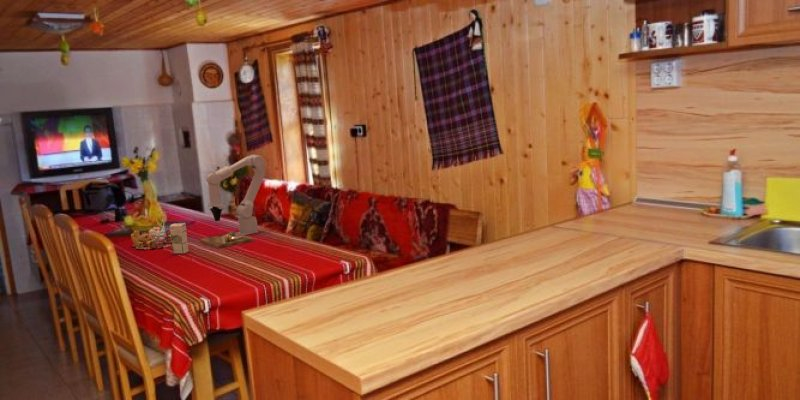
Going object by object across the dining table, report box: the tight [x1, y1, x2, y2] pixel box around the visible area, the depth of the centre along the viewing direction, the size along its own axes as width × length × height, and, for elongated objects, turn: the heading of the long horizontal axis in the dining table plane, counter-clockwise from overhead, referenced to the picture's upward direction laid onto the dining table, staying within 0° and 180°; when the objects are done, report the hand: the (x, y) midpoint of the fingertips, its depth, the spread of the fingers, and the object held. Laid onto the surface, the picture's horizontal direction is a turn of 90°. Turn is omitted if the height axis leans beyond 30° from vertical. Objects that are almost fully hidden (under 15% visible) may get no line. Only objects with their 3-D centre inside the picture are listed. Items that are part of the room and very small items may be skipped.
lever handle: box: [221, 231, 243, 244], centre depth 323 cm, size 18×11×3 cm, turn 176°
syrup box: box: [169, 222, 189, 255], centre depth 307 cm, size 6×6×14 cm
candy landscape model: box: [130, 226, 172, 250], centre depth 328 cm, size 25×24×9 cm
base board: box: [199, 231, 255, 249], centre depth 327 cm, size 20×22×2 cm
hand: (217, 220), depth 335 cm, fingers closed
